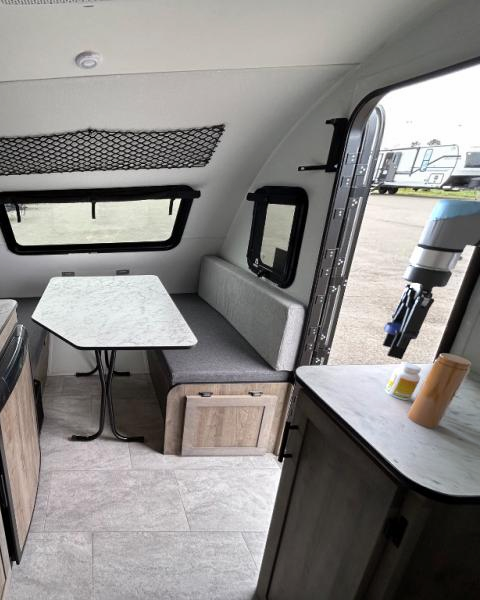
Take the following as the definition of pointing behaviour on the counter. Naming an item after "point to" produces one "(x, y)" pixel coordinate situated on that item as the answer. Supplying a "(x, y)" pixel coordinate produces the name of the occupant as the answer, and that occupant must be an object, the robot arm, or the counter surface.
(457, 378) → the jar
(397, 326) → the jar lid
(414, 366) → the supplement bottle
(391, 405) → the counter surface
